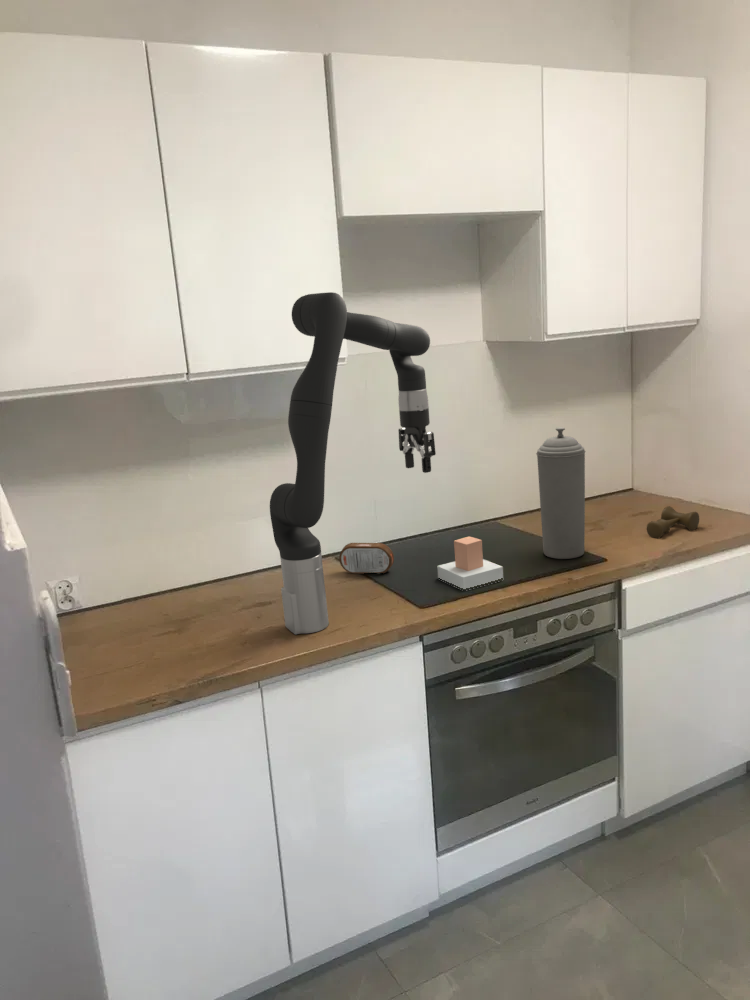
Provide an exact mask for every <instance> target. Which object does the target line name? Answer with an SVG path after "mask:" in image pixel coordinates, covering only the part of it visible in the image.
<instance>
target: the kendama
mask: <svg viewBox="0 0 750 1000" xmlns="http://www.w3.org/2000/svg"><path fill="white" fill-rule="evenodd" d="M699 523H700V514H699V513H698V512H697V511H690V512H688V513H681V512H679V511H676V509H674V508H673V507H672V506H671V505H667V506H666V507H664V508H663V510H662V512H661V517H660V519H657V520H656V521H649V522H647V525H646V532H647V534H648V536H649V537H651V538H653V539H659V538H662V537H663V535H664V534H668V533H669V532H670V531H671V528H672V527H673V526H674V525H676V524H677V525H681V526H683V527H685V528H686V529H687V530H689V531H694V530H696V529H697V528H698V527H699Z"/></svg>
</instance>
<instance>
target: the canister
mask: <svg viewBox="0 0 750 1000" xmlns="http://www.w3.org/2000/svg"><path fill="white" fill-rule="evenodd" d="M555 430H556V432H558V433H557V435H556V436H551V437H549V438H546V439H545V441H544V442H543V443H542V445H540V446H539V448H538V449H537V452H536V453H535V454H536V456H537V457H536V458H537V472H538V475H537V476H538V489H539V491H538V492H539V504H540V507H539V508H540V517H541V518H540V521H541V535H542V549H543V554H544V555H545V557H546V556H547V557H548V558H551V559H556V560H570V559H576V558H579V557H581V556H583V555H584V554H585V535H586V534H585V531H586V528H585V527H586V526H585V524H586V523H585V521H586V519H585V518H586V515H585V514H586V511H585V510H586V509H585V507H586V498H585V497H586V496H585V495H586V494H585V493H586V490H585V489H586V487H585V486H586V485H585V484H586V483H585V482H586V475H585V474H586V470H585V469H586V459H585V458H586V456H585V455H586V454H585V453H586V450H585V447H584V446H582V444H581V443H580V442H579V441H578V440H577V439H576V438H574V437H572V436H566V435H564V434H563V432H564V431H565V430H566V428H565V427H563V426H560V427H556V428H555Z"/></svg>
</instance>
